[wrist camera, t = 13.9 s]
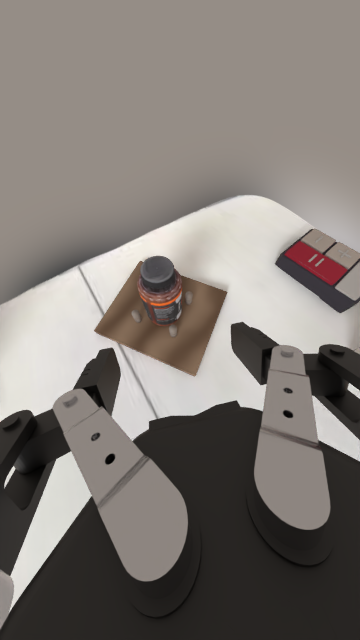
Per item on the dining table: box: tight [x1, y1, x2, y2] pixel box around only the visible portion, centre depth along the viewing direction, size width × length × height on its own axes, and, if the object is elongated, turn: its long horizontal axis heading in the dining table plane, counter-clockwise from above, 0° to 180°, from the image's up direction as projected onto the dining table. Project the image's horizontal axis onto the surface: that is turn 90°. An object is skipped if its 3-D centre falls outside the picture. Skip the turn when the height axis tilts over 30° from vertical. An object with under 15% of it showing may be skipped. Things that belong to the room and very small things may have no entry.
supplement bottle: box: [137, 256, 182, 326], centre depth 26 cm, size 6×6×11 cm
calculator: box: [275, 229, 360, 313], centre depth 35 cm, size 11×4×15 cm
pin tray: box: [94, 261, 227, 376], centre depth 31 cm, size 18×16×4 cm
